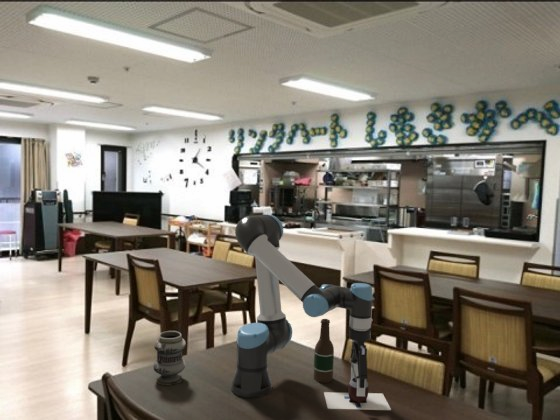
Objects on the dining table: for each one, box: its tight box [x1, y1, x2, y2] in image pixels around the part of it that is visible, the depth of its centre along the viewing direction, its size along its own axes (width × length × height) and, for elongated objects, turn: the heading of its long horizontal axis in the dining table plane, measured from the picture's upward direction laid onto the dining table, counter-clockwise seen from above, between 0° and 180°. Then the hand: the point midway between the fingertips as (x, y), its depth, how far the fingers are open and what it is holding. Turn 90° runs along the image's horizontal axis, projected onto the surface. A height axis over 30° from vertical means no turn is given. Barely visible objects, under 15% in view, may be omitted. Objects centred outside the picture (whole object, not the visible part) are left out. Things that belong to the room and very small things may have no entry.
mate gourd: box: [345, 356, 370, 406], centre depth 162 cm, size 8×8×15 cm
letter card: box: [323, 391, 392, 411], centre depth 163 cm, size 22×12×1 cm, turn 91°
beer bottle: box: [313, 318, 335, 384], centre depth 180 cm, size 8×8×24 cm
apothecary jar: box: [152, 330, 187, 386], centre depth 175 cm, size 12×12×18 cm
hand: (357, 387), depth 162 cm, fingers open, 11 cm apart
